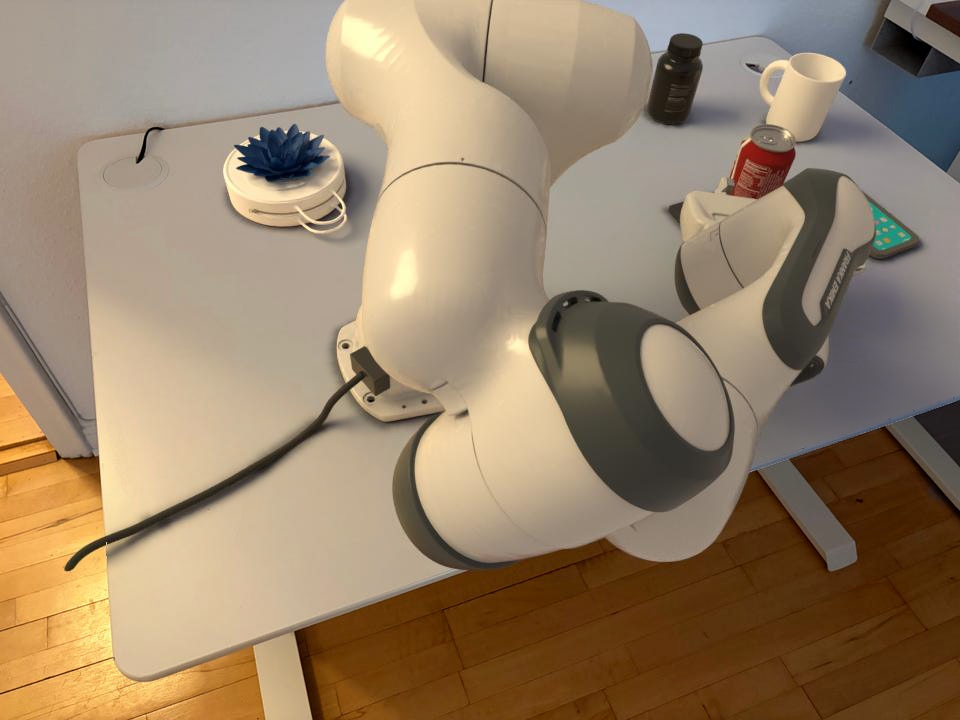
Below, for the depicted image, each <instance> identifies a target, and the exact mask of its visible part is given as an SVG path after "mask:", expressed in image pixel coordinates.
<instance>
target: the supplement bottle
mask: <svg viewBox="0 0 960 720" xmlns="http://www.w3.org/2000/svg"><path fill="white" fill-rule="evenodd" d="M703 45H704V42H703V40H702V39H701V38H700V37H698V36H697V35H695V34H691V33H684V32H680V33H679V32H678V33H675V34H673V35H672V36H670V39H669V41H668V45H667V48H666V51H665V52H663V54H661V55H660V56H659V58H658V60H657V63H656V67H655V71H654V76H653V78H652V83H651V88H650V93H649V96H648V99H647V103H646V112H647V115H648V116H649V118H651V119H652V120H654V121H656V122H658V123H661V124H666V125H679V124H681V123H684V122H685V121H686V120H687V119H688V118H689V116H690V113H691V111H692V107H693V103H694V100H695V96H696V93H697V89H698V86H699V83H700V80H701V77H702V73H703V69H704V65H703V62H702V59H701V58H700V56H701V53H702V48H703Z"/></svg>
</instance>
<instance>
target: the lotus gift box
mask: <svg viewBox="0 0 960 720" xmlns="http://www.w3.org/2000/svg"><path fill="white" fill-rule="evenodd" d="M233 148H234V149H233V150H231V152H230V153H229V154H228V156H227V158H226V159H225V162H224V164H223V168H222V169H223V171H222V172H223V178H224V181H225V186H226V189H227V192H228V196H229V199H230V202H231V204H232V206H233V208H234V209H235V211H236V212H238V214H239V215H241V216H243V217H245V218H246V219H248V220H249V221H252V222H255V223H257V224H260V225H265V226H271V227H295V226H302V227H303V228H305V229H306V230H307V231H309V232H310V233H313V234H317V235H325V234H331V233H334V232H337V231H338V230H340V229H342V228H343V227H345V225H346V224H347V222H348V216H347V214H346V211H347V207H346V204H345V201H344V200H343V199H344V197H345V196H346V195H345V194H346V191H347V180H346V171H345V166H344V164H345V163H344V157H343V155H342V153H341V151H340V150H339V149H338V148H337V146H336V145H335V144H333V142H331V141H330V140H328V139H326V138H325V135H324V134H320V135H318V134H314V133H312V132H311V131H310V130H308V131H301V130H300V129H299V127H298V125H297V124H296V123H293V124H292V125H291V126H290V127H289V129H288V130H284V129H283V128H281V127H280V126H278V127H276V129H275V130H274V129H270V131H269V129H267V128H266V127H264V126H260V127H259V135H256V136H254V137H252V136H248V137H247V140H245V141H243V142H242V143H240V144H234V145H233ZM340 204H341V206H342V208H341V207H339V205H340ZM335 209H336V210H338V211H339V212H340V214H339V215H338V216H337V217H336V218H334V219H331V220H327V221H320V220H319V219H321V218H323V217H325V216H327V215H329V214H330V213H332V211H334V210H335ZM342 218H343V221H342V222H341V223H340V224H339V225H338V226H336V227H334V228H331V229H326V230H317V229H313V228H311V227H310V226H308V225H307V224H309V223H312V224H314V225H318V226H319V225H320V226H326V225H332V224H334V223H336V222H338V221H340V220H341V219H342Z"/></svg>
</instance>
